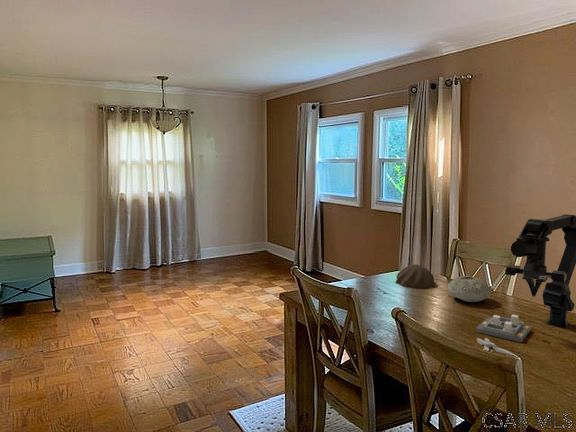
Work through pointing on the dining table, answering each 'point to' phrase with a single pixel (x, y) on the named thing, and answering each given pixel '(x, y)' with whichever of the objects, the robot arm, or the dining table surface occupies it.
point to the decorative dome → (415, 277)
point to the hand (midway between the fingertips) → (533, 296)
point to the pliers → (488, 344)
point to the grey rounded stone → (469, 289)
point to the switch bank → (498, 331)
